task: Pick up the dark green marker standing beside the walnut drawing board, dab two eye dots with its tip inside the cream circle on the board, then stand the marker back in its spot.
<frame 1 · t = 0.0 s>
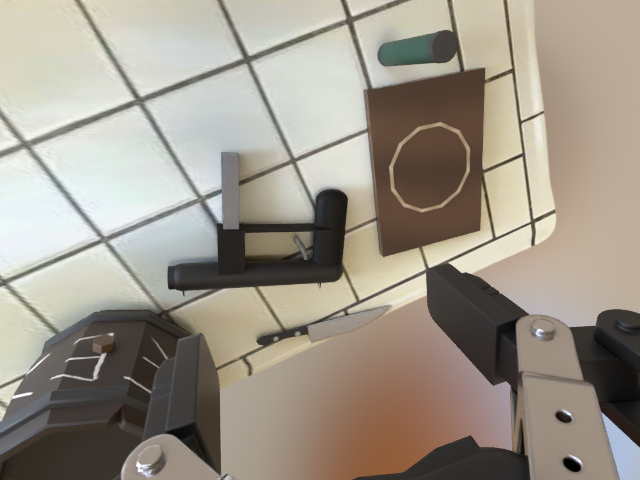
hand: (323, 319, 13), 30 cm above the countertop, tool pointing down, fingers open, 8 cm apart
door handle: (259, 223, 43), on the countertop
coffee canister: (128, 359, 45), on the countertop
drawing board: (426, 167, 45), on the countertop
marker: (387, 54, 39), on the countertop
chef's knife: (326, 327, 51), on the countertop
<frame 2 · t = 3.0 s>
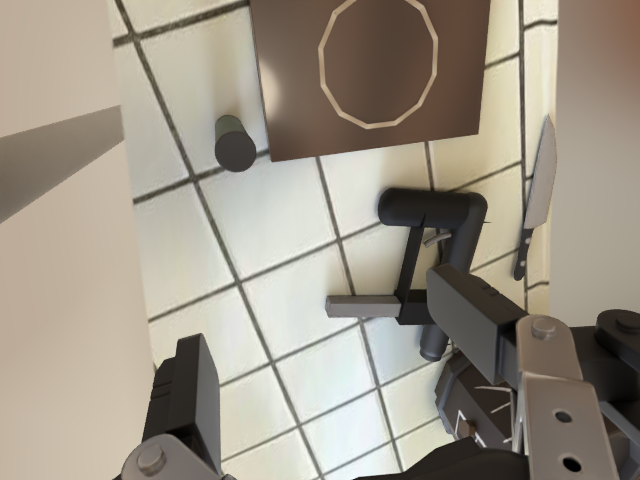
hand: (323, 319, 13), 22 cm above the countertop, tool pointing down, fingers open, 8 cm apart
door handle: (398, 273, 41), on the countertop
coffee canister: (483, 375, 52), on the countertop
drawing board: (375, 62, 32), on the countertop
marker: (229, 129, 31), on the countertop
chef's knife: (536, 202, 42), on the countertop
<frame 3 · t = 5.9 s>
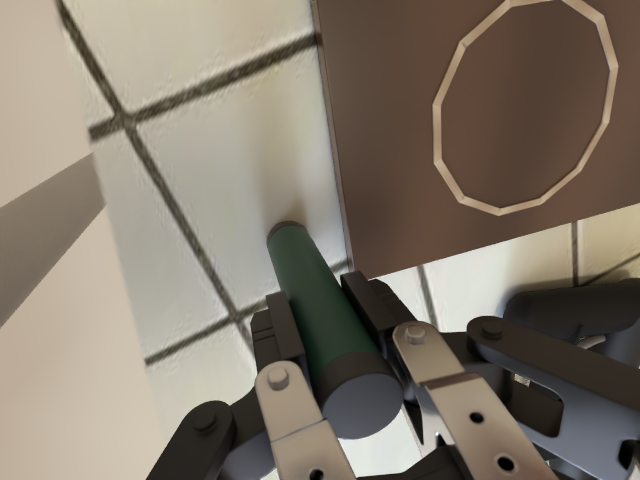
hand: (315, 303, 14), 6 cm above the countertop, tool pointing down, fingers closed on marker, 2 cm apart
door handle: (521, 387, 30), on the countertop
drawing board: (512, 112, 20), on the countertop
marker: (287, 240, 19), on the countertop, touching gripper
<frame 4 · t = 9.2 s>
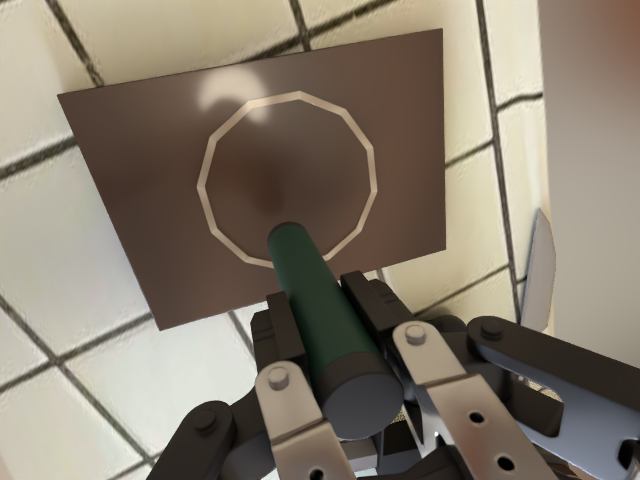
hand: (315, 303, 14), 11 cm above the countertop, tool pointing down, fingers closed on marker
door handle: (370, 410, 33), on the countertop
drawing board: (289, 184, 23), on the countertop
marker: (288, 240, 19), point 5 cm above the countertop, touching gripper
chef's knife: (533, 305, 33), on the countertop
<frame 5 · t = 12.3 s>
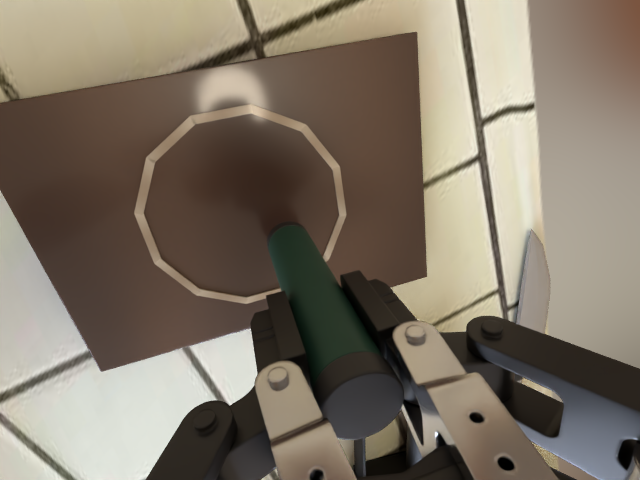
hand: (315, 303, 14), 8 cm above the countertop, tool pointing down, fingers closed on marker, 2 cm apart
door handle: (352, 446, 31), on the countertop
drawing board: (246, 207, 20), on the countertop
marker: (288, 240, 19), point 2 cm above the countertop, touching gripper
chef's knife: (525, 331, 30), on the countertop
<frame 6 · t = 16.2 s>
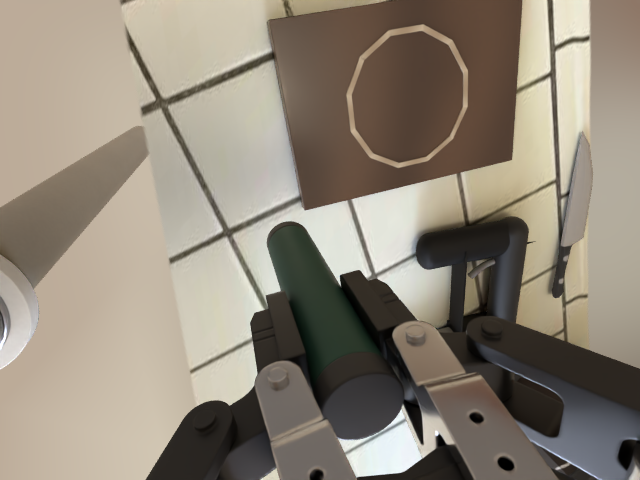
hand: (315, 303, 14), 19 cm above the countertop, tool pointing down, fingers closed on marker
door handle: (447, 304, 41), on the countertop
coffee canister: (523, 390, 51), on the countertop
drawing board: (403, 100, 31), on the countertop
marker: (288, 241, 19), point 13 cm above the countertop, touching gripper
chef's knife: (572, 218, 41), on the countertop
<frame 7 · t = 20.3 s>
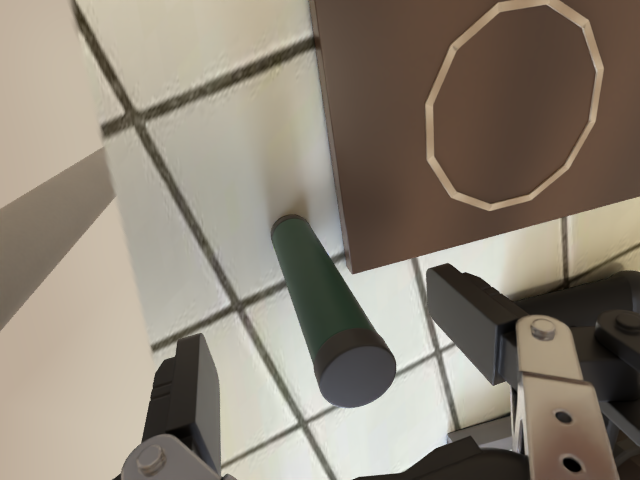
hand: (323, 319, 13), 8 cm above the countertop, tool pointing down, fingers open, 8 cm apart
door handle: (531, 381, 31), on the countertop
coffee canister: (603, 471, 40), on the countertop
drawing board: (502, 112, 21), on the countertop
marker: (290, 233, 20), on the countertop
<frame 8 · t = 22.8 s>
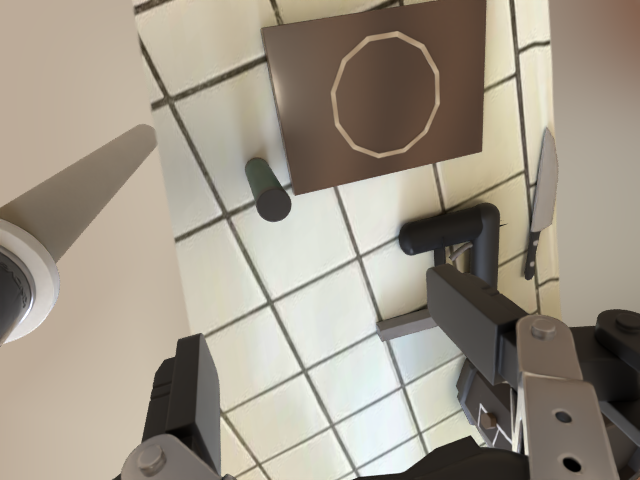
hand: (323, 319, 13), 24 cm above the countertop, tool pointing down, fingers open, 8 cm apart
door handle: (433, 286, 46), on the countertop
coffee canister: (501, 368, 55), on the countertop
drawing board: (382, 97, 35), on the countertop
marker: (257, 169, 34), on the countertop
chef's knife: (541, 206, 45), on the countertop
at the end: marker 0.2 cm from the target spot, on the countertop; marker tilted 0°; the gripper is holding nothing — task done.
